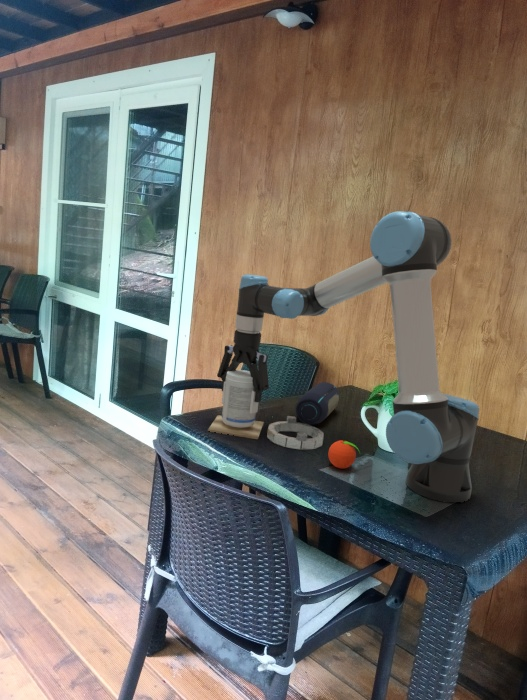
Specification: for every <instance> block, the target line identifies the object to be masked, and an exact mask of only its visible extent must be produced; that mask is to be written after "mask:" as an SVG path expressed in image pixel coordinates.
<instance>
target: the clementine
mask: <svg viewBox="0 0 527 700" xmlns="http://www.w3.org/2000/svg"><path fill="white" fill-rule="evenodd" d="M356 450H358V452H359V454H361V452H360V450H359V448H358V447H357V445H355V444H354V443H352V442H349V441H347V440H343V439H342V440H337V441H335V442H333V443H332V444H330V447H329V449H328V453H327V456H328V460H329V461H330V463H331V464H332V465H333V466H334V467H336V468H338V469H347V468H350V467H351V466H352V465H353V464H354V463H355V460H356V457H357V451H356Z"/></svg>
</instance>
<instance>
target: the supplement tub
mask: <svg viewBox="0 0 527 700" xmlns="http://www.w3.org/2000/svg"><path fill="white" fill-rule="evenodd" d="M252 380H253V378H252V377H251V375H250V371H249V370H246V369H245V370H243V369H236V370H235V371H228V372H227V375H226V381H225V391H224V401H223V404H222V410H221V411H222V412H221V416H222V421H223V422H224V423H225V424H226V425H229V426H232V427H239V428H243V427H250V426H252V425H253V424H254V423H255V421H256V415H257V412H256V413H252V414H251V413H249V412H250V404H251V395H252V390H255V389H254V385H253V382H252Z"/></svg>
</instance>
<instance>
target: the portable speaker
mask: <svg viewBox="0 0 527 700" xmlns="http://www.w3.org/2000/svg"><path fill="white" fill-rule="evenodd" d="M340 400H341V395H340V391H339V389H338V387H337V386H335V385H334V384H332V383H330V382H327V381H325V382H318V383H317V384H316V385H314V386H313V387H311V388H310V389H309V390H307V391H306V392H305V393H304V394H302V395H300V397H299V398H298V400H297V403H296V404H295V415H296V418H298V420H299V421H300V422H301V423H304V424H308V425H311V426H314V425H318V424H321V423H322V422H323V421H324V420H325V419H326V418H327V417H328V416H330V414H331V413H332V412H333V411H334V410H335V409H336V408H337V406H338V405H339V404H340Z"/></svg>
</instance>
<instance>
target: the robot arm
mask: <svg viewBox="0 0 527 700" xmlns="http://www.w3.org/2000/svg"><path fill="white" fill-rule="evenodd" d="M369 241H370V243H369V248H370V252H371V254H372V256H370V257H369V258H366V259H365V260H362V261H360V262H358V263H357V264H354V265H352V266H350V267H348V268H346V269H344V270H342V271H340V272H337V273H335V274H333V275H331V276H329V277H327V278H325V279H323V280H321V281H319V282H317V283H315V284H313V285H311V286H308V287H307V288H298V287H297V288H295V287H279V286H272V285H269V279H268V277H267V276H262V275H256V274H243V275H242V276H241V277H240V278H241V279H240V283H239V288H238V299H237V310H236V315H235V316H236V317H235V323H234V324H235V326H234V328H235V330H234V333H233V334H234V335H233V345H232V344H230V345H224V351H223V352H224V354H223V357H222V359H221V362H220V365H219V368H218V372H217V375H216V376H217V377H218V378H220V379H221V380H222V381H221V382H222V383H221V392H222V398H221V404H222V405H223V401H224V391H225V381H226V375H227V372H228V371H235V370H238V367H239V365H240V364H243V365H245V366H246V367H247V369H248V371H250V375H251V377H252V378H253V380H252V382H253V385H254V389H255V390H252V395H251V404H250V412H249V413H251V414H252V413H256V414H257V413H258V411H259V409H258V408H259V403H261V401H262V394H263V391H267V390H269V389H270V385H269V375H268V363H267V362H268V358H269V356H268V354H263V353H260V350H259V348H260V346H261V341H262V333H261V332H262V330H263V323H264V315H265V314H268V315H272V316H275V317H279V318H281V319H288V320H289V319H291V320H292V319H293V320H294V319H295V318H297V317H299V316H301V317H303V316H304V317H305V316H306V317H309V316H310V317H316V316H321V315H324V314H325V313H326V312H328V310H329V309H330V308H332V307H334V306H337V305H338V304H342V303H343V302H345V301H348V300H351V299H352V298H355V297H357V296H360V295H361V294H364V293H366V292H369V291H370V290H373V289H376V288H378V287H379V286H382V285H385V284H389V287H390V288H389V289H390V299H391V310H392V311H391V312H392V322H393V334H394V337H393V338H394V348H395V360H396V372H397V373H396V374H397V382H398V383H397V384H398V394H397V395H396V396H395V397H394V398H393V400H392V408H393V410H392V411H393V415H392V416H391V418H390V419H389V421H388V422H387V424H386V427H385V438H386V441H387V444H388V447H389V448H390V450H391V451H392V453H394V454H395V455H396V456H397V457H398V458H399V459H401V461H402V462H403V461H404V462H406V463H407V464H408V463H409V464H411V465H410V467H409V469H408V471H407V473H406V480H405V484H406V486H407V487H408V489H410V490H412V491H413V492H414V493H416V494H418V495H420V496H423V497H424V498H427V499H431V500H433V501H437V500H438V501H439V502H442V501H443V502H442V503H449V502H454V503H453V504H456V503H455V502H461V503H465V502H467V501H469V500H470V499H471V495H472V490H473V487H472V486H473V485H472V481H471V480H472V479H471V474H470V473H471V471H470V460H471V454H472V451H473V445H474V441H475V437H476V436H475V435H476V431H477V428H478V427H477V426H478V421H479V420H480V418H479V413H480V407H479V405H478V404H477V403H476V402H474V401H471V400H469V399H465V398H463V397H462V398H461V397H458V396H455V395H451V394H446V393H445V394H444V393H443V392H441V390H440V381H439V380H440V379H439V369H438V368H439V367H438V359H437V345H436V344H437V343H436V334H435V322H434V321H435V320H434V310H433V309H434V308H433V306H434V305H433V297H432V296H433V295H432V283H431V281H432V279H433V278H434V276H435V275H436V274H437V273H438V270H437V269H438V268H437V266H440V264H442V263H443V262H445V260H446V259H447V257H448V256H449V254H450V252H451V248H452V235H451V232H450V230H449V228H448V227H447V226H446V225H445V224H444V223H443V222H442V221H441V220H440V219H437V218H435V217H430V216H425V215H422V214H417V213H415V212H413V211H402V210H401V211H400V210H399V211H397V210H396V211H393V212H390V213H388V214H387V215H384V216H383V217H382V218H381V219H380V220H379V221H378V222H377V224H376V225H375V226H374V228H373V230H372V232H371V235H370V240H369ZM233 354H234V356H233ZM468 499H469V500H468ZM438 501H437V502H438ZM444 501H445V502H444ZM464 501H465V502H464Z"/></svg>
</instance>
